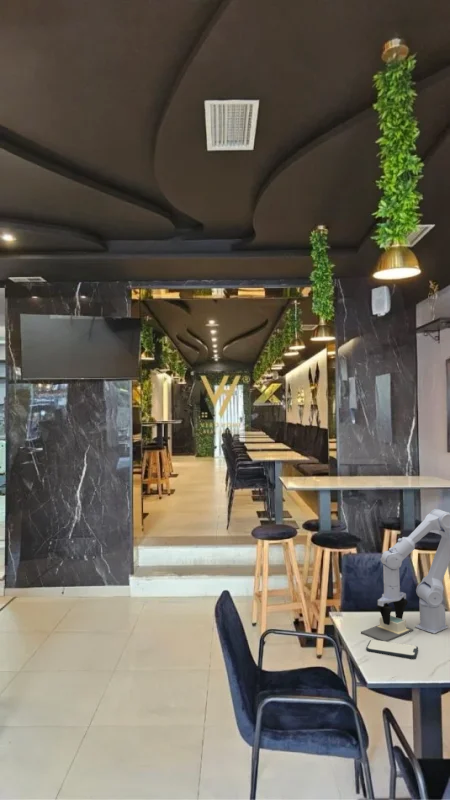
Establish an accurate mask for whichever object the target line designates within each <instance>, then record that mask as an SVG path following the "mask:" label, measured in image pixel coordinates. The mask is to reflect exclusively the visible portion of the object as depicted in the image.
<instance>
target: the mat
mask: <svg viewBox="0 0 450 800" xmlns="http://www.w3.org/2000/svg"><path fill="white" fill-rule="evenodd" d="M409 632H410V633H411V632H414V628H411V627H408V626H406V630H404V631H401V632H399V633H397V632H394V631H392V630H389V629H386V628H383V627H381V626H380V624H378V625H375V626H372V627H370V628H367V629H364V630H362V631H360V634H361V635H363V636H367V637H369V638H371V639H373V640H379V641H386V642H391V641H392V640H395V639H397V638H399V637H402V636H404V635H407V634H409Z"/></svg>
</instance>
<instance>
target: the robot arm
mask: <svg viewBox="0 0 450 800" xmlns="http://www.w3.org/2000/svg"><path fill="white" fill-rule="evenodd" d="M432 531H438V532H439V534H440V535H441V536H440V537H441V538H440V541H439V544H438V547H437V549H436V552H435V554H434V556H433V559H432V563H431V565H430V567H429V571H428V573H427V575H426V576H423V577H422V580H421V582H420V583H419V584H417V586H416V589H415V591H416V592H415V593H416V595H417V596H418V597H419V602H418V603H419V604H418V605H419V606H418V607H419V624H417V625H415V628H416V629H420V630H422V631H425V632H427V633H432V634H437V633H439V632H441V631H445V630H446V629H448V628H449V626H448V625H447V624H446V622H447V620H446V619H447V618H446V608H445V606H444V605H443V600H444V597H443V596H444V594H443V593H444V590H445V589H444V585H443V580H444V579H445V575H446V573H447V570H448V567H449V564H450V512H448V511H444V510H442V509H440V508H435V509H432V510H431V511H430V513H428V514H426V516H425V517H424V520H422V521H421V522H420V524H418V526H417V527H416V528H415V529H414V530H413V531H412V532H411V533H410V534H409V535H408V536H402V538H400V537H399V538H398V539H397V542H396V543H395V544H394V545H393V546H392V547H390V548H388V550H385V551H383V553H382V554H381V557H380V562H381V563H382V566H383V568H382V570H383V573H382V574H383V575H382V576H383V577H382V578H383V593H382V594H381V597H380V598H379V599H377V603H376V607H377V609H378V611H379V613H380V616H381V617H382V619H383V622H384V624H387V625H389V624H390V615H391V613H392V611H393V607H394V612H395V617H397V618H400V619H402V620H403V616H404V612H405V608H406V606H407V604H408V603H409V601H408V600H407V593H406V592H403V591H401V589H400V588H401V585H400V584H401V583H400V579H401V578H400V568H401V567H402V564H403V561H404V560H405V558H407V557H408V556H409V555H410V554H411V553H412V552H413V551H414V550H415V548H416V544H417V543H418V542H420V540H421V539H422V538H423V537H425V536H426V535H427V534H429V533H430V532H432ZM392 603H393V606H389V604H392Z"/></svg>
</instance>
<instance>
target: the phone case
mask: <svg viewBox="0 0 450 800" xmlns="http://www.w3.org/2000/svg"><path fill="white" fill-rule="evenodd" d="M365 650H366V652H369V653H374V654H380V655H385V656H391V657H396V658H402V659H408V660H416V659H417V656H418V653H419V647H418V646H417V645H413V644H406V643H399V642H391V641H388V642H386V641H379V640H376V639H370V640H369V642H368V644H367V645H366V648H365Z"/></svg>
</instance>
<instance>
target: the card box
mask: <svg viewBox="0 0 450 800" xmlns="http://www.w3.org/2000/svg"><path fill="white" fill-rule="evenodd" d="M379 625H380V626H381V627H383V628H386V629H389V630H392V631H394V632H397V633H399V632H401V631H404V630H406V627H407V620H405V619H403V618H402V619H400V618H397V617H396V616H394V615H391V614H390V624H389V625H387V624H384V622H383V619H382V616H379Z"/></svg>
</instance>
